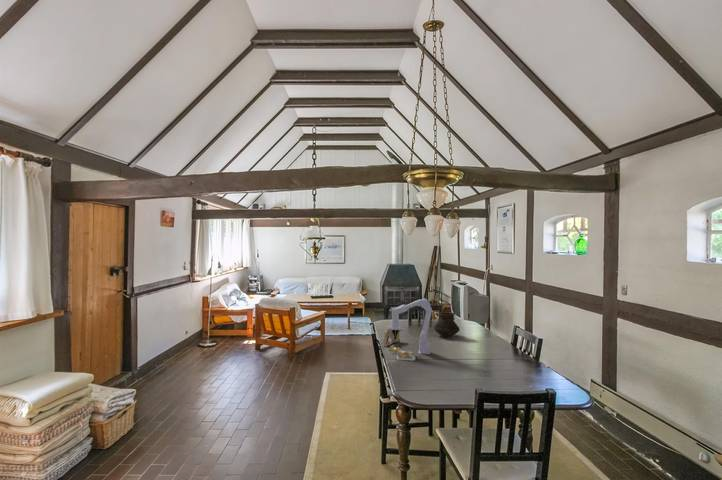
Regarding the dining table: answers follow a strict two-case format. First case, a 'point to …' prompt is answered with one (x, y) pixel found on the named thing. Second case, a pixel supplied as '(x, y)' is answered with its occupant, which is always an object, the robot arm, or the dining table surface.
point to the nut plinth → (394, 352)
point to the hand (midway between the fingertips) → (395, 339)
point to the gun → (390, 334)
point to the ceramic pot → (446, 325)
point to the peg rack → (406, 358)
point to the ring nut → (394, 349)
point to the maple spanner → (402, 353)
